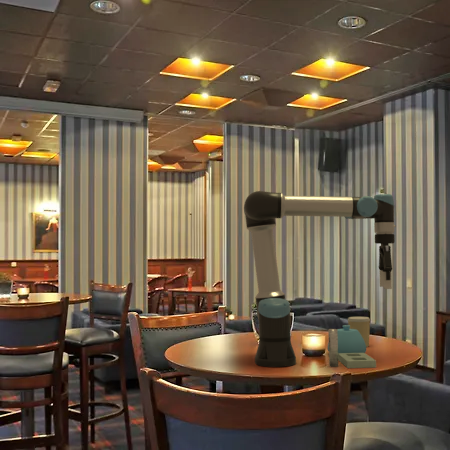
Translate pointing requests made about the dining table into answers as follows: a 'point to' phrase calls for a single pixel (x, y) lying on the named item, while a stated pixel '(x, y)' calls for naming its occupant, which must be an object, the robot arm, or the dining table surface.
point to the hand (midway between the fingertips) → (385, 287)
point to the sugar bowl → (350, 341)
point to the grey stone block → (333, 347)
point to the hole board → (356, 360)
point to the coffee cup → (361, 327)
